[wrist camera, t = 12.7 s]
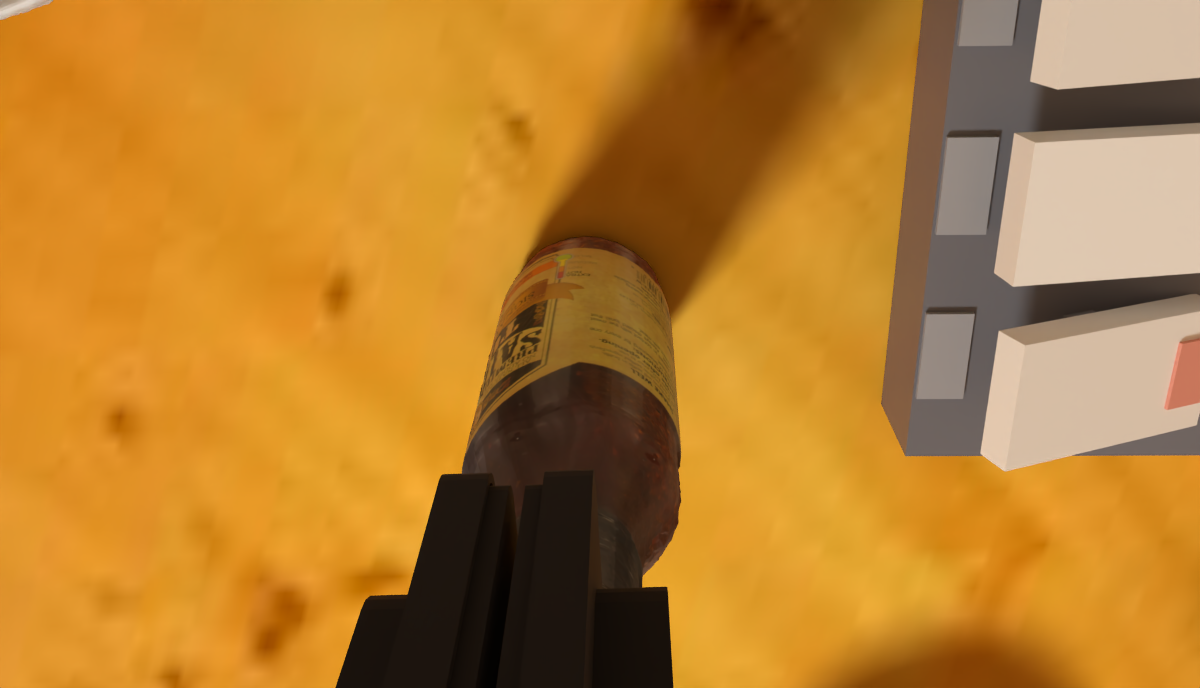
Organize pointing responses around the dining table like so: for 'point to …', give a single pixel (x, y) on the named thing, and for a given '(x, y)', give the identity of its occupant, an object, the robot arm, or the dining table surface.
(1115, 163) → the middle rocker
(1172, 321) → the block
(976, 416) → the rocker switch box
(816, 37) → the dining table surface
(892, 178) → the dining table surface
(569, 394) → the sauce bottle
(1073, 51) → the rocker
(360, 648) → the robot arm
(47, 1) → the cereal bowl
